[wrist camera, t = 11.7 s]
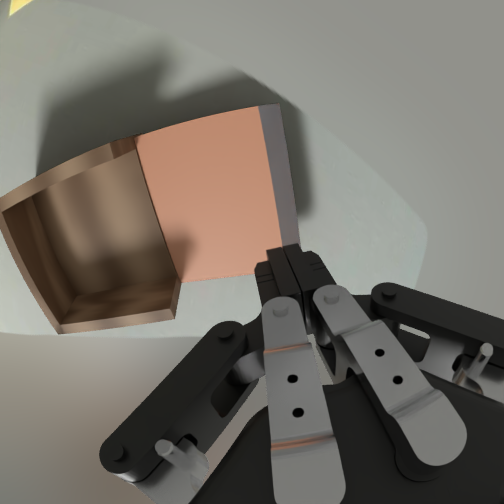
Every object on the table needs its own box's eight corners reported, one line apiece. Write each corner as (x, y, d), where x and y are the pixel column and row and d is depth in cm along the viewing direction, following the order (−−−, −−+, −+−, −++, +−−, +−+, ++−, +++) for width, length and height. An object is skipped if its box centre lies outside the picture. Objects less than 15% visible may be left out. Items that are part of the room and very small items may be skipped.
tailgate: (180, 282, 27) (302, 267, 25) (133, 137, 20) (279, 102, 18) (183, 275, 28) (301, 260, 27) (139, 136, 21) (278, 103, 19)
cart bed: (83, 290, 30) (58, 334, 23) (35, 179, 22) (-10, 204, 15) (184, 269, 30) (174, 319, 23) (141, 133, 22) (109, 142, 15)
